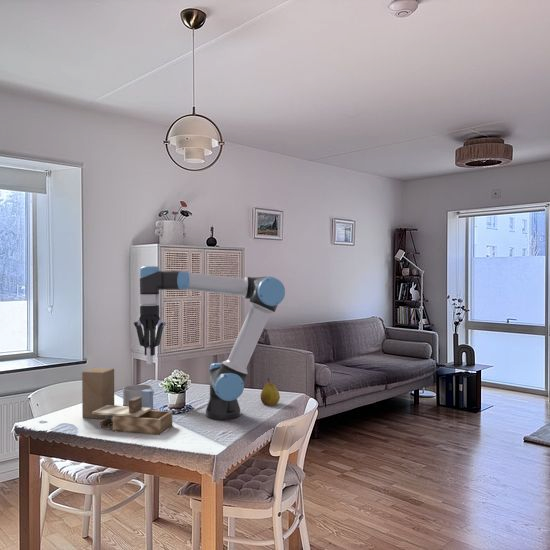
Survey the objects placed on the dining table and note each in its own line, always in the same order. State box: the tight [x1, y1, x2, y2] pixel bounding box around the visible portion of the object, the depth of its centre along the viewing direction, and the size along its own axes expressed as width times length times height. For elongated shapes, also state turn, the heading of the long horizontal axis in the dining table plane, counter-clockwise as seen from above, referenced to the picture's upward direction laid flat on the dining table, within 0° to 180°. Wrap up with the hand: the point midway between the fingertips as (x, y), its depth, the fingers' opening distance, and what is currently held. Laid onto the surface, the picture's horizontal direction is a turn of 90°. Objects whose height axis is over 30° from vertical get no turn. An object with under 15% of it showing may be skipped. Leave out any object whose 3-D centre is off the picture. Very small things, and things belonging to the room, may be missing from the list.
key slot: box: [99, 416, 113, 430], centre depth 213 cm, size 7×7×2 cm
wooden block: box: [81, 367, 115, 420], centre depth 229 cm, size 10×10×20 cm
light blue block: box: [141, 389, 155, 410], centre depth 225 cm, size 5×3×12 cm, turn 77°
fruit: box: [260, 377, 281, 407], centre depth 248 cm, size 9×9×12 cm
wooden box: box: [112, 409, 173, 436], centre depth 210 cm, size 20×12×6 cm, turn 77°
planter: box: [122, 384, 153, 406], centre depth 237 cm, size 13×13×10 cm
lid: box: [92, 397, 151, 417], centre depth 212 cm, size 20×11×6 cm, turn 77°
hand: (149, 363), depth 209 cm, fingers closed
